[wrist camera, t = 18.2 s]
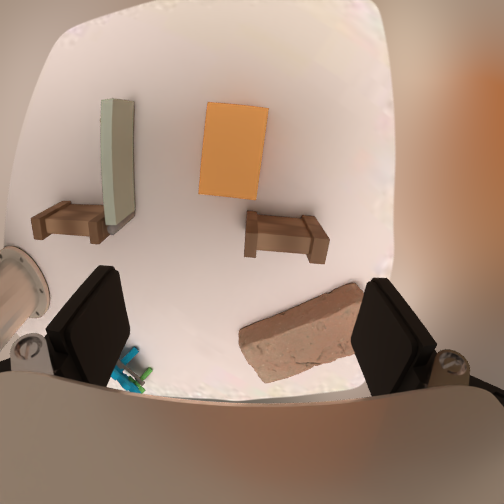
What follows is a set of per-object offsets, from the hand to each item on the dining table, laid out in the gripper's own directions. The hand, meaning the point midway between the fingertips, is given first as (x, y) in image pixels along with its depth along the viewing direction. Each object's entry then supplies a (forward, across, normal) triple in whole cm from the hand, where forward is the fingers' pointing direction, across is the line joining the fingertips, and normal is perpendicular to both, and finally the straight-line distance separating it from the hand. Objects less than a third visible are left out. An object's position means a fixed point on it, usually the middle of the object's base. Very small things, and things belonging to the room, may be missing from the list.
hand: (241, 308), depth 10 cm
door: (+20, +13, -3) cm, 24 cm away
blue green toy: (+21, +18, +26) cm, 38 cm away
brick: (+21, -9, +18) cm, 29 cm away
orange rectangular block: (+21, +1, -4) cm, 21 cm away
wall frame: (+21, +8, +3) cm, 22 cm away
